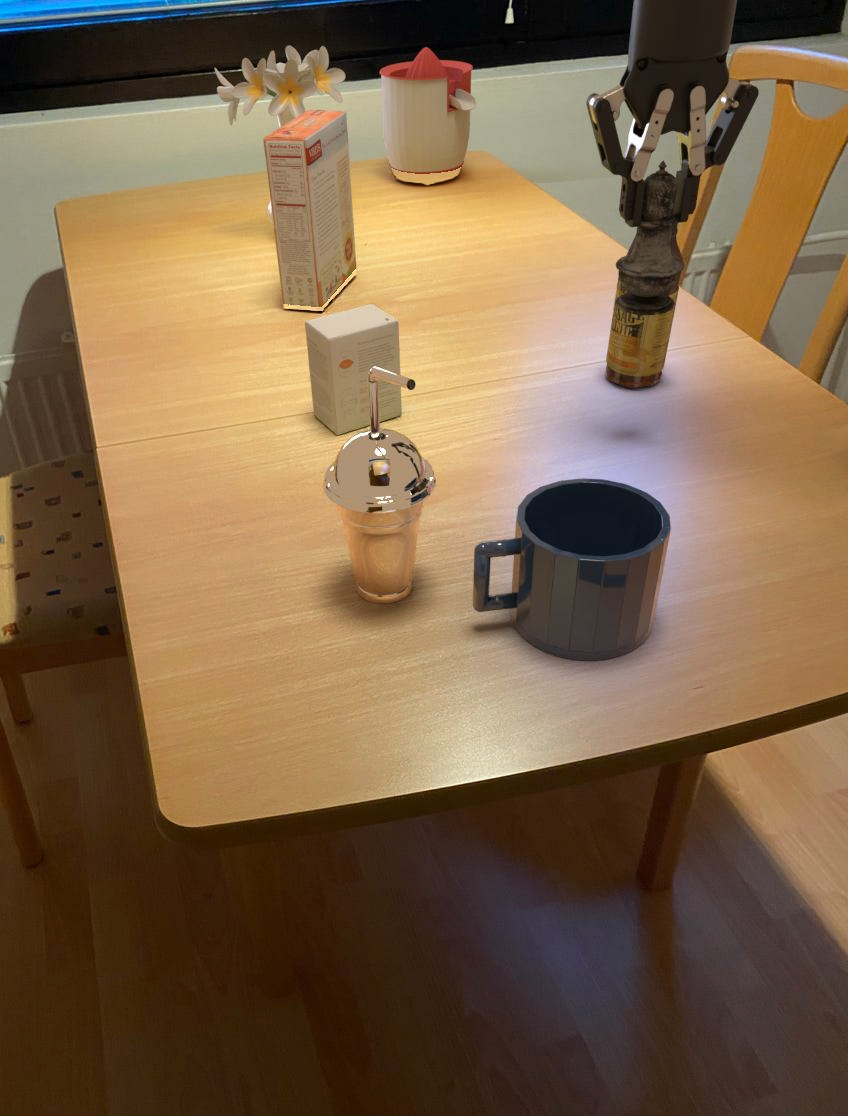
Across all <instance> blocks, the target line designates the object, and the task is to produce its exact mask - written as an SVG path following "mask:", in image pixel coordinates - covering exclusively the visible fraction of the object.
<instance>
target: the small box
mask: <svg viewBox="0 0 848 1116" xmlns="http://www.w3.org/2000/svg"><path fill="white" fill-rule="evenodd" d="M399 323H400V322H399V320H398V319H396V318H395V317H393V316H392V315H390V314H389V313H388V312H385V311H384V310H383V309H381V308H380V307H378V306H377V305H375V304H374V303H368V304H365V305H361V306H358V307H354V308H349V309H345V310H342V311H339V312H335V313H331V314H327V315H323V316H319V317H315V318H311V319H308V320H305V321H304V329H305V341H306V349H307V358H308V370H309V381H310V388H311V391H310V392H311V399H312V400H311V401H312V408H313V410H312V411H313V416H315V418H317V419H318V420H319V421H320V422H322V423H323V425H325V427H327V428H328V429H329V430H330V431H332V433H333V434H334V435H336V436H339V435H342V434H345V433H348V432H353V431H356V430H358V429H362V428H365V427H368V426H370V412H369V392H368V378H367V377H368V373H369V370H370V369H371V368H372V367H375V366H377V367H379V368H382V369H385V370H388V371H390V372H393V373H396V374H399V375H401V357H400V355H401V352H400V327H399ZM378 398H379V420H380V423H381V422H385V421H388V420H391V419H395V418H398V417H401V416H402V413H403V411H402V409H403V408H402V407H403V406H402V387H401V386H398V385H395V384H393V383H390V382H387V381H385V380H382V379H380V378H378Z"/></svg>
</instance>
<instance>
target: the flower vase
mask: <svg viewBox="0 0 848 1116" xmlns="http://www.w3.org/2000/svg"><path fill="white" fill-rule="evenodd" d="M285 55H286V59H287V62H285V63H283V62H281V61H280V62H278V63H276V62H277V61H276V52H275V50H271V51H270V53H269V55H268V57H267V60H266V58H264V57H262V58H261V59H259V61H258V63H257V66H256V69H255V67H254V65H253V64H252V62H251V60H250V59H249V58H247V57H244V58H243V59H242V60H241V71H242V75H243V77H244V79H245V80H246V81H243V82H239V83H237V84H236V85H235V86H234V85H233V84H232V83H230V82H229V81H228V80H227V79H226V78H225V77H224V75H223V74H222V73H220V72H219V70H218V69H217V68H216V67H214V73H215V74H216V76H217V79H218V81H219V82H220V83H221V85H223V86H221V85H220V86H217V88H216V92H217V95H218V97H219V98H220V99H221V101H222V102H224V103H229V104H228V106H227V116H228V122H229V124H230V126H233V124H234V122H237V113H238V108H239V104H240V100H241V99H244V98H246V99H245V100H244V102H243V108H242V114H243V116H245V117H246V116H248V115H249V114H250V113H251V111H252V109H253V107H254V106H255V104H256V103H257V101H258V100H264V99H265V98H267V97H268V96H271V97H272V98H271V101H270V103H269V105H268V109H267V112H268V114H269V116H270V117H276V118H277V121H278V126H279V128H281V127H282V126H284V125H285V124H287V123H289V122H290V121H292V120H293V119H295V118H296V117H298V116H300V115H301V114H303V113H304V112H306V107H305V105H304V103H303V102H304V98H309V97H311V96H313V95H314V94H315V93H317V94H318V95H319V96H324V95H325V94H327V95H329V96H330V97H331V98H332V99H333V100H334V101H336V102H337V104H338V103H339V104H343V102H344V101H343V100H344V99H343V96H342V94H341V92H340V91H339V89H338V88H337V87H336V86H334V85H339V84H341V83H342V82H345V80H346V73H345V71H344V70H343V69H341V68H338V67H332V68H329V64H330V58H329V57H330V56H329V53H328V50H327V48H326V47H325V46H324V45H321V47H320V48H319V50H318V49H313V50H311V51H309V52H308V53H307V54H306V55H305V56H304V58H303V60H302V58H301V55H300V54H299V52H298V51H297V49H296V48H294V47H293V46H292V45H286V46H285ZM328 68H329V69H328ZM267 219H268V221H269V223H270V224H271V225H272V226H273V227H274V224H273V216H272V207H271V200H269V202H268V206H267Z"/></svg>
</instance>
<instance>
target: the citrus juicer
mask: <svg viewBox="0 0 848 1116" xmlns="http://www.w3.org/2000/svg"><path fill="white" fill-rule="evenodd" d="M473 70H474V67H473V65H472V64H470V63H467V62H464V61H458V60H448V59H446V60H445V59H439V58H438V57H437V55H436V54H435V53H434V52H433V51H432V50H431V48H429V47H427V46H425V47H423V48H422V49H421V50H420V51H419V52H418V54H417V55H416V57H415V58H414V59H413V61H404V62H398V63H393V64H389V65H386V66H385V67H382V68H381V69H380V70H379V75H380V79H381V81H380V82H381V109H382V112H381V113H382V133H383V142H384V148H385V153H386V156H387V159H388V162H389V167H391V168H393V169H395V170H398V171H401V172H407V173H415V174H430V173H441V172H448V171H453V170H456V169H458V168H460V167H462V168H463V166H464V164H465V158H466V154H467V151H468V146H469V140H470V132H471V131H470V130H471V110H474V109H475V108H476V105H477V103H476V98H475V96H474V95H473V94H472V71H473ZM462 165H463V166H462ZM391 168H390V169H391Z"/></svg>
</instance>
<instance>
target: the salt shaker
mask: <svg viewBox="0 0 848 1116" xmlns="http://www.w3.org/2000/svg"><path fill="white" fill-rule="evenodd" d="M667 167H668V165H667V164H666V162H665V160H661V162H660V163H659V165H658V168H659V169H658V170H656V171H655V172H653V173H651V174H649V175H647V177H646V178H645V179H644V181H646V184H645V192H644V200H643V208H642V217H641V224H640V226H639V227H636V233H635V236H636V240H635V244H634V247H633V250H632V253H631V254H630V255H627V254H626V255H624V256H621V257H620V258H618V259H617V261H616V262H615V268H616V270H618V273H617V276H619V279H620V282H621V285H622V287H623V288H624V289H625V290H626V291H627V293H624V294H623V295H621V296H619V297H618V298H617V299H616V301H615V300H614V303H615V306H616V307H617V308H618V309H620V310H622V311H624V312H627V313H630V314H636V315H657V314H662V313H666V312H668V311H671V310H672V309H673V308H674V306H675V302H674V300H673V299H672V298H671V297H669V296H668V295H667V294H665V293H666V292H668V291H669V290H670V289H671V288H672V287H674V285H675V283H676V281H677V280H678V277H679V273H680V272H681V273H682V271H683V270H684V269H685V263H684V260H683V261H682V260H680V259H679V258H677V257H675V256H672V254H671V246H670V241H671V234H672V227H673V224H675V223H676V222H677V218H676V217H675V216H674V215H673V213H674V206H675V199H676V192H677V180H676V176H675V175H673V174H672V173H670V172H668V170H666V168H667Z"/></svg>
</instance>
